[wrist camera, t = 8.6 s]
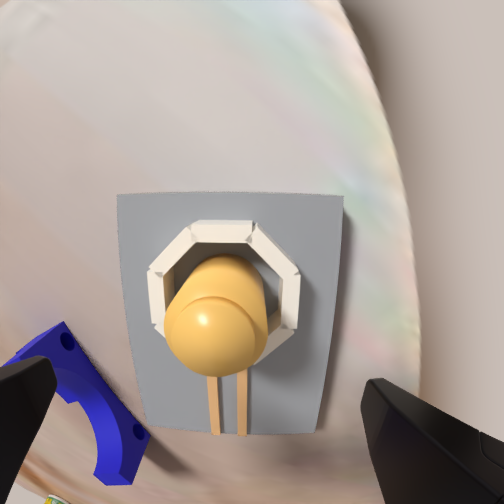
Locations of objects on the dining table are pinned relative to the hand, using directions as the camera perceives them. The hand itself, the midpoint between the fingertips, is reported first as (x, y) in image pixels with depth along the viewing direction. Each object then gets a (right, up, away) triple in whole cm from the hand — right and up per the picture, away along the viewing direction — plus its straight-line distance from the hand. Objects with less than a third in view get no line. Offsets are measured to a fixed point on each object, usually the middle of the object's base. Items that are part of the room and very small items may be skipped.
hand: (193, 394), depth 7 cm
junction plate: (0, -1, +12) cm, 12 cm away
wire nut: (0, +2, +9) cm, 9 cm away
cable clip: (-12, -8, +14) cm, 20 cm away
